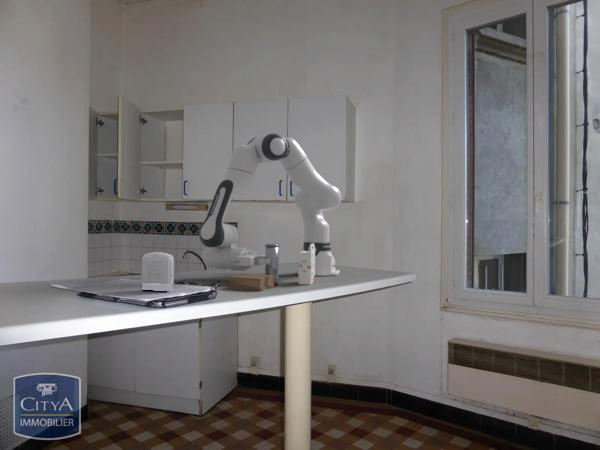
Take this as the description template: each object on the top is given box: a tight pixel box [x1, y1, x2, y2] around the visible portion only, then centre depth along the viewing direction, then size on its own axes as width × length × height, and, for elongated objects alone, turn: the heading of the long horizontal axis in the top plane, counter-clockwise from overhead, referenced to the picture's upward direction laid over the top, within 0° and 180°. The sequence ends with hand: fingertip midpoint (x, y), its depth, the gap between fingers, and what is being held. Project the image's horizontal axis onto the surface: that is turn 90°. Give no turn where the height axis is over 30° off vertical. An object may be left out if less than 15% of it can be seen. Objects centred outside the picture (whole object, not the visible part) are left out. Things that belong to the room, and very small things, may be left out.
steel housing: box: [264, 243, 280, 284], centre depth 160 cm, size 5×5×14 cm
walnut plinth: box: [227, 273, 275, 292], centre depth 145 cm, size 10×12×4 cm
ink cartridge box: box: [297, 244, 316, 286], centre depth 160 cm, size 9×5×15 cm, turn 168°
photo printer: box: [140, 251, 175, 285], centre depth 136 cm, size 10×4×12 cm, turn 78°
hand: (274, 260), depth 159 cm, fingers closed on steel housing, 5 cm apart
